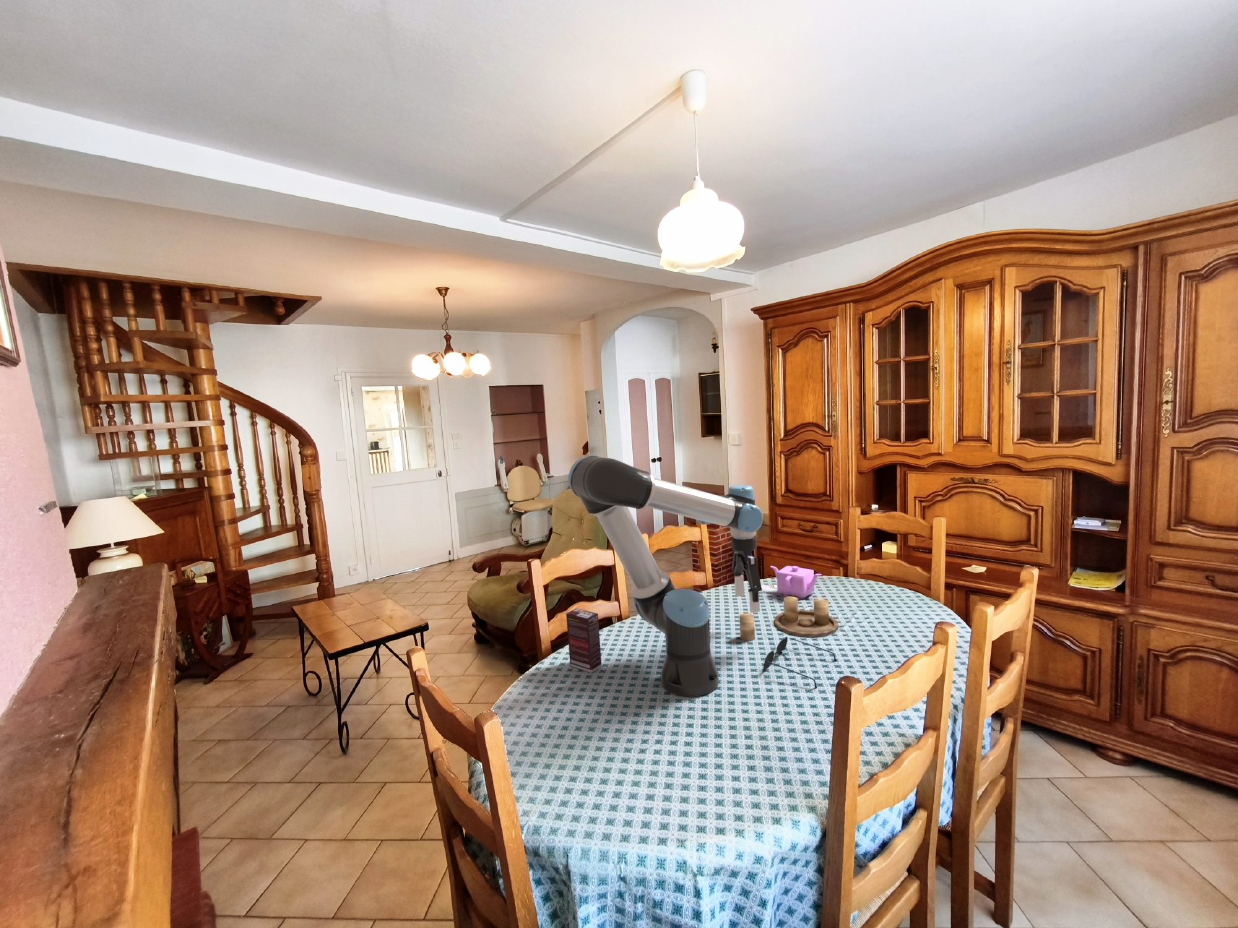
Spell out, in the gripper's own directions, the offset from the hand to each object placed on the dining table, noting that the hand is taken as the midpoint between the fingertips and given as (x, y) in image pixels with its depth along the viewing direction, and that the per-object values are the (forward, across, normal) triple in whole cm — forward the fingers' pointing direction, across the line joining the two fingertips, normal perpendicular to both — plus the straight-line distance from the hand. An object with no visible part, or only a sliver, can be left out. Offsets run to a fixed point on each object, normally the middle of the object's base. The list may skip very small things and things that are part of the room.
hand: (747, 603), depth 163 cm
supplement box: (+10, -7, +51) cm, 53 cm away
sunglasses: (+12, -21, -7) cm, 25 cm away
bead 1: (+11, 0, 0) cm, 11 cm away
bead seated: (+10, +3, -25) cm, 28 cm away
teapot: (+12, +31, -29) cm, 44 cm away
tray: (+11, +3, -20) cm, 23 cm away
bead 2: (+10, +8, -17) cm, 22 cm away
